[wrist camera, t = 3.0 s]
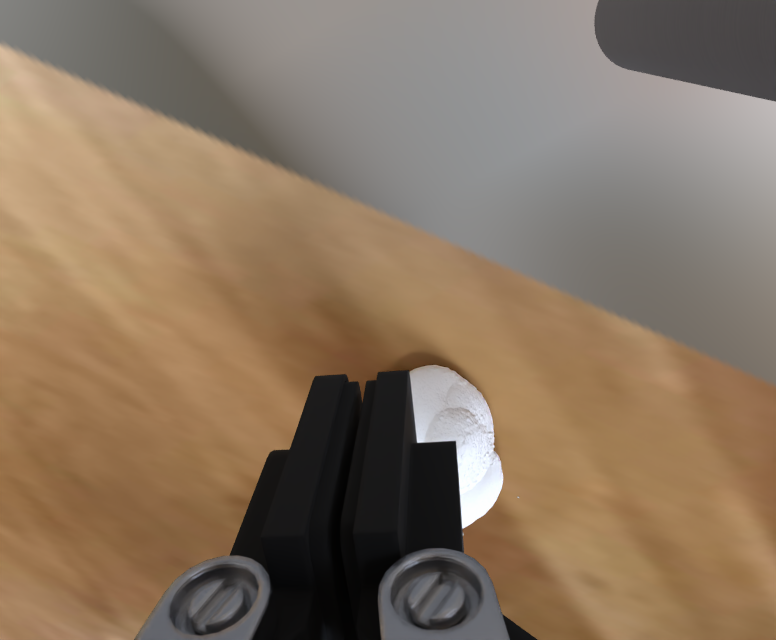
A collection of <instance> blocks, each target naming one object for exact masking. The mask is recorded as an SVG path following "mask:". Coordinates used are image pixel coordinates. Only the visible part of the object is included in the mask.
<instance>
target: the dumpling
mask: <svg viewBox="0 0 776 640" xmlns="http://www.w3.org/2000/svg"><path fill="white" fill-rule="evenodd" d="M409 373H410V380H411V389H412V399H413V408H414V418H415V427H416V436H417V443H423V442H442V441H456V448H457V461H458V474H459V488H460V502H461V516H462V529H463V528H464V527H467V526H468V525H470V524H471V523H473V522H474V521H475V520H476V519H478V518H480V517H482V516H483V515H485V514H486V513H487V511H488V510H489V509H490V508H491V507H492V506H493V505H494V503H495V501H496V500H497V497H498V495H499V493H500V491H501V489H502V484H503V473H502V468H501V461H500V460H499V459H500V458H499V456H498V455H497V453H495V451H493V448H494V447H495V446H494V445H493V443H494V439H495V438H494V437H493V436H494V433H493V432H494V431H493V423H492V421H493V419H492V416H491V413H490V409H489V407H488V404H487V403H486V401H485V399H484V398H483V396H482V393H481V392H479V391H477V388H476V387H474V386H473V385H472V384H471V383H469V382H468V381H467V380H466V379H464V378H463V377H461V376H460V375H459V374H457V373H456V371H453V370H450V369H449V368H448V367H442V366H438V365H429V366H428V365H426V366H423V367H419V368H415V369H414V370H412V371H410V372H409ZM517 498H519V497H517ZM463 535H464V534H463Z"/></svg>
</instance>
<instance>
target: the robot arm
mask: <svg viewBox="0 0 776 640" xmlns="http://www.w3.org/2000/svg"><path fill="white" fill-rule="evenodd" d="M134 640H537V639H536V638H534V637H533V636H531V635H530V634H529V633H527V632H526V631H525V630H523V629H522V628H521V627H519V626H518V625H516V624H515V623H514V622H512V621H511V620H510V619H508V618H507V617H505V616H504V615H503V614H502V612H501V609H500V606H499V602H498V599H497V596H496V593H495V589H494V586H493V583H492V581H491V579H490V577H489V575H488V573H487V571H486V569H485V568H484V567H483V566H482V565H480V564H479V563H478V562H477V561H476V560H475V559H474V558H472V557H470V556H468V555H466V554H464V547H463V531H462V516H461V502H460V488H459V474H458V461H457V448H456V441H442V442H423V443H417V436H416V427H415V418H414V408H413V399H412V389H411V380H410V373H409V370H404V371H389V372H378V375H377V380H373V381H367V382H366V386H365V392H364V397H363V403H362V398H361V391H360V386H359V383H358V381H357V382H349V381H348V377H347V375H346V374H342V375H327V376H315V378H314V380H313V382H312V385H311V388H310V391H309V394H308V397H307V400H306V403H305V406H304V409H303V412H302V415H301V418H300V421H299V424H298V427H297V430H296V433H295V436H294V439H293V442H292V445H291V448H290V450H273V451H272V452H270V454H269V455H268V457H267V460H266V462H265V465H264V467H263V470H262V473H261V475H260V478H259V480H258V483H257V486H256V488H255V491H254V493H253V496H252V499H251V501H250V504H249V506H248V509H247V512H246V514H245V517H244V519H243V522H242V525H241V527H240V530H239V532H238V535H237V538H236V540H235V543H234V545H233V548H232V551H231V553H230V556H221V557H217V558H213V559H209V560H206V561H204V562H202V563H200V564H198V565H196V566H194V567H192V568H190V569H188V570H187V571H186V572H184V573H183V574H182V575H181V576H179V577H178V578H177V579H175V581H174V582H173V583H172V584H171V585H170V587H169V588H168V589H167V590H166V591H165V593H164V594H163V596H162V597H161V599H160V600H159V602H158V603H157V605H156V606H155V608H154V610H153V611H152V613H151V614H150V616H149V617H148V619H147V620H146V622H145V623H144V625H143V626H142V628H141V630H140V631H139V633H138V634H137V636H136V637H135V639H134Z"/></svg>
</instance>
